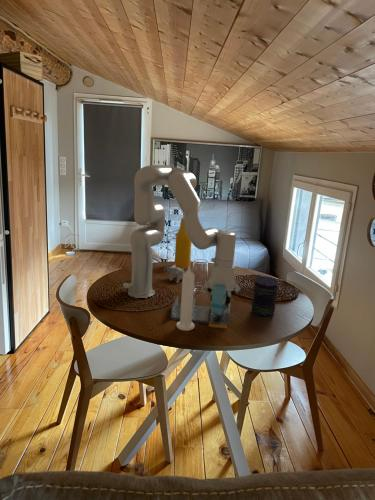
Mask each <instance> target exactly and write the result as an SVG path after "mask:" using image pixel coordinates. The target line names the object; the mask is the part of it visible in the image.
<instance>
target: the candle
mask: <svg viewBox="0 0 375 500" xmlns="http://www.w3.org/2000/svg"><path fill="white" fill-rule="evenodd" d="M195 276H196V275H195V273H194V272H193V271H192V270H191V265H190V266H189V267H188V269H186V271H184V273H183V279H182V282H181V284H182V286H181V298H180V299H181V301H180V303H181V314H180V320H179V321H178V322H176V328H177V329H178V330H180V331H184V332H185V331H186V332H187V331H191V330H193V329H195V322H192V309H193V299H194V295H195V294H194V293H195V280H196V279H195Z"/></svg>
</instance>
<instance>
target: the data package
mask: <svg viewBox="0 0 375 500" xmlns="http://www.w3.org/2000/svg"><path fill="white" fill-rule="evenodd" d="M227 295H228V292H227V291H226V286H221V285H214V287H213V291H212V302H211V301H210V304H211V313H212V314H217V315H222V314H223V313H224V311H225V310H226V309H228V307H229V305H228V306H226V303H227Z"/></svg>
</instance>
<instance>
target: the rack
mask: <svg viewBox="0 0 375 500" xmlns="http://www.w3.org/2000/svg"><path fill="white" fill-rule="evenodd" d="M179 298H180V297H179V294H177V295H176V297H175V299H174V301H173V303H172V305H171V309H170V320H174V321H175V320H176V321H180V314H181V302H179ZM196 299H197V298H196V296H193V309H192V323H199V324H208V327H211V328H217V329H228V328H227V327H229V323H230V313H231V312H230V311H231V310H230V309H231V300H230V304H229V303H228V307H227V308H226V310H225V311H224V313H223V314H222V315H217V314H212V313H211V302H212V301H211V300H210V305H209V306H205V305H199V304H198V305H197V304H196Z"/></svg>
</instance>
